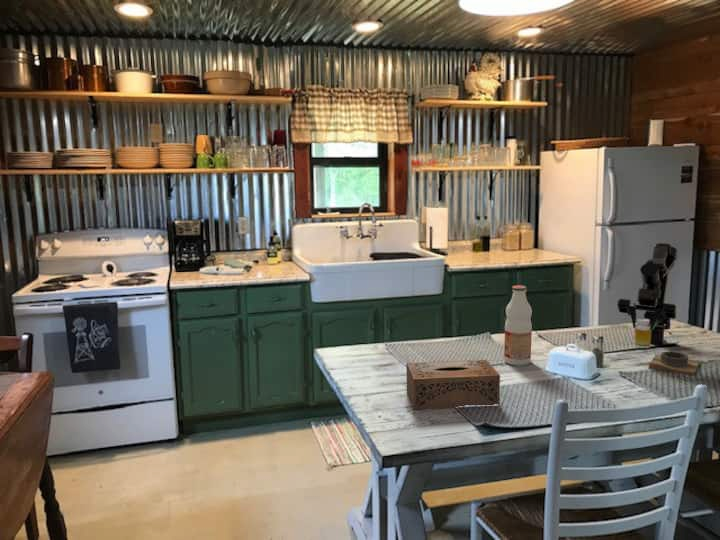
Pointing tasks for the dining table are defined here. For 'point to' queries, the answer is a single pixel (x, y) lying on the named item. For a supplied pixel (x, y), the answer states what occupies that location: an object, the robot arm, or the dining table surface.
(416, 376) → the tissue box cover
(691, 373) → the bottle holder
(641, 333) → the supplement bottle
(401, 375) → the dining table surface
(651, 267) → the robot arm
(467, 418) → the dining table surface
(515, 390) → the dining table surface
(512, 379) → the dining table surface
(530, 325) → the fruit juice
